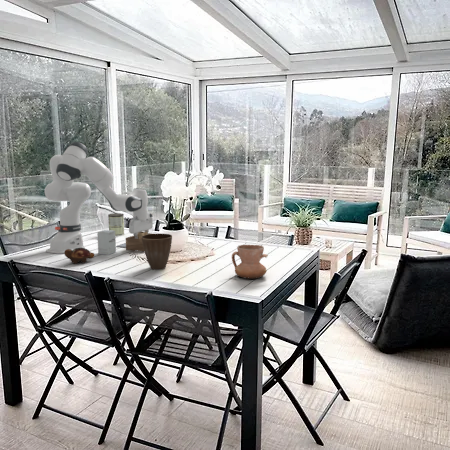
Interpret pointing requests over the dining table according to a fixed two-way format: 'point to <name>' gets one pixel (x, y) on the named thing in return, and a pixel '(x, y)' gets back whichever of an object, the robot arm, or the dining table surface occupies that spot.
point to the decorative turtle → (78, 255)
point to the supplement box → (106, 242)
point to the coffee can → (116, 223)
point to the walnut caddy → (134, 243)
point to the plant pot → (157, 249)
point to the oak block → (141, 234)
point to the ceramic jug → (249, 261)
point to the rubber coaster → (122, 245)
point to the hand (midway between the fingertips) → (141, 238)
